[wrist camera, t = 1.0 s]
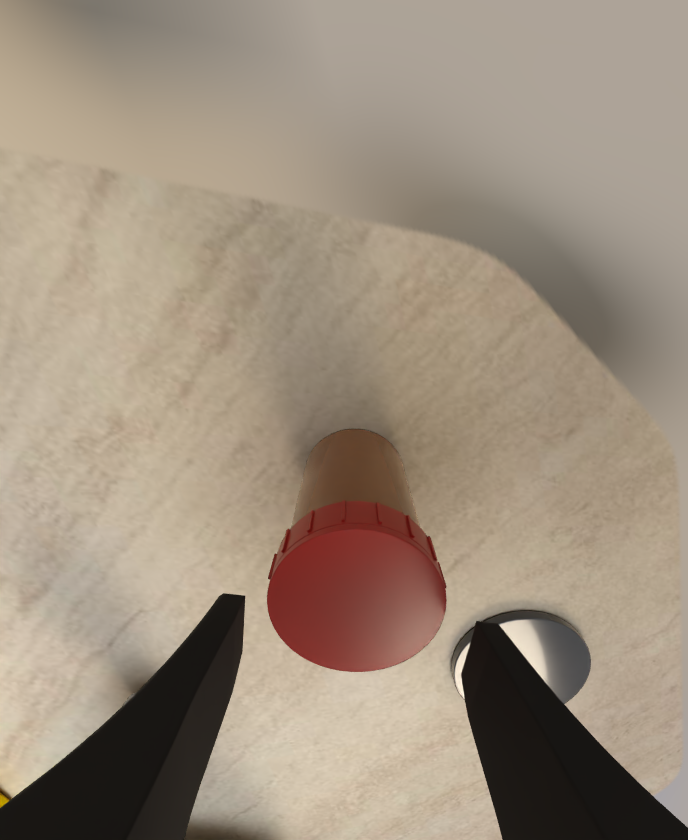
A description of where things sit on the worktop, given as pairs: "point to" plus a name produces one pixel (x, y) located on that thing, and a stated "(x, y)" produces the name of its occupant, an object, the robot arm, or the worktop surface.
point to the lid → (356, 587)
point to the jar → (354, 474)
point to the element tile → (3, 800)
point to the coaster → (539, 650)
